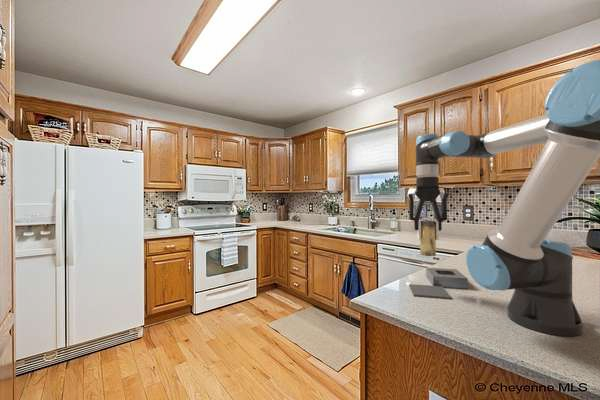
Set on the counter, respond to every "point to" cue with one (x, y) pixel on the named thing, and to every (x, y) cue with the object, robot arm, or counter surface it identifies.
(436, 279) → the block
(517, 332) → the counter surface
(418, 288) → the mat
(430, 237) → the glass jar
